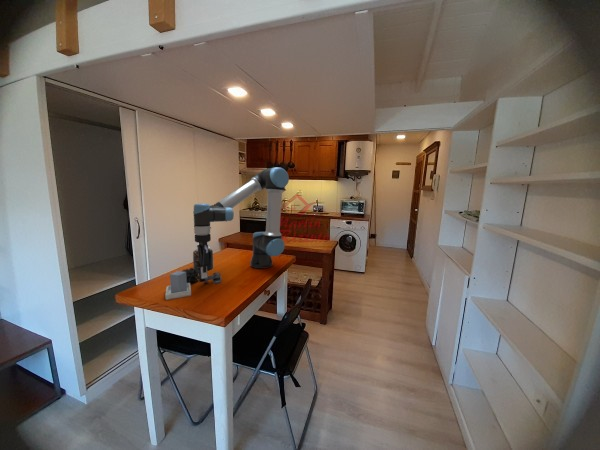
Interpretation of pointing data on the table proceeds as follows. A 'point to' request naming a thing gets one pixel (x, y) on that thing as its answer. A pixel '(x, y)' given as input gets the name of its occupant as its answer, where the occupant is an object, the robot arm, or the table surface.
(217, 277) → the crank
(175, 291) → the block
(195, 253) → the jar
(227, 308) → the table surface
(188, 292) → the tray
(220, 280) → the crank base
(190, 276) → the fruit
